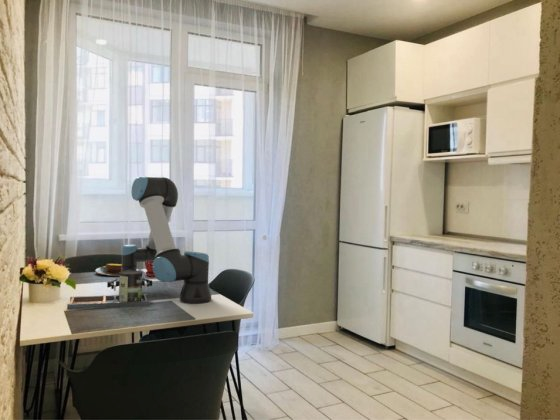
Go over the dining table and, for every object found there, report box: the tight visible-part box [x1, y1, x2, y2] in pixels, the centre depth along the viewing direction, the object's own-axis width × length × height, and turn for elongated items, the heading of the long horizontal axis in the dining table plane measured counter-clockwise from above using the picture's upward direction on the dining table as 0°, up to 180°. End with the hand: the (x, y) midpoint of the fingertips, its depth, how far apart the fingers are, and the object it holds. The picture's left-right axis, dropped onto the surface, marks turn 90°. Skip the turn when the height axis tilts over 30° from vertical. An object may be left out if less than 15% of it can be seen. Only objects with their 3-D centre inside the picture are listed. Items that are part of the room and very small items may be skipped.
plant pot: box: [144, 261, 156, 278], centre depth 288 cm, size 13×13×12 cm
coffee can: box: [118, 270, 143, 302], centre depth 218 cm, size 10×10×14 cm
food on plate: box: [94, 263, 139, 277], centre depth 290 cm, size 25×25×7 cm
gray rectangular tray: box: [66, 293, 150, 310], centre depth 215 cm, size 34×16×2 cm, turn 109°
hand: (130, 287), depth 216 cm, fingers open, 13 cm apart
